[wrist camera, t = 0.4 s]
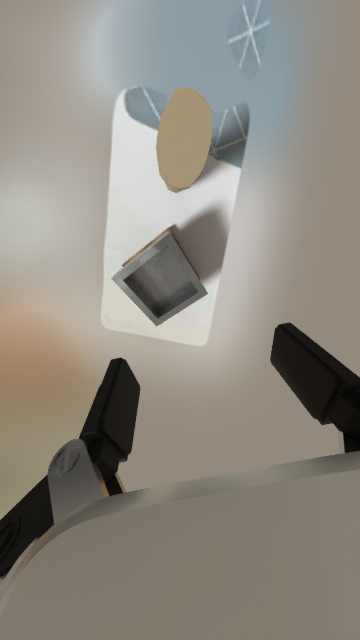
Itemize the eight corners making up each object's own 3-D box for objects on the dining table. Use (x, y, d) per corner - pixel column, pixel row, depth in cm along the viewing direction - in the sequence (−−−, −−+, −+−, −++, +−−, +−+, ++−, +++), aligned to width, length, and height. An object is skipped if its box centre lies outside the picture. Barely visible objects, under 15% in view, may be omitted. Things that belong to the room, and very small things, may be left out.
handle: (194, 163, 26) (221, 106, 14) (182, 208, 29) (195, 195, 17) (166, 150, 25) (168, 74, 12) (156, 197, 28) (150, 175, 16)
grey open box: (169, 230, 26) (169, 232, 22) (202, 285, 31) (207, 293, 28) (118, 271, 29) (111, 278, 25) (157, 314, 34) (156, 326, 30)
